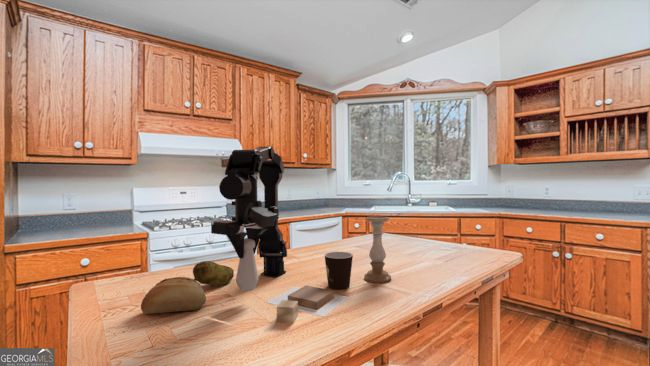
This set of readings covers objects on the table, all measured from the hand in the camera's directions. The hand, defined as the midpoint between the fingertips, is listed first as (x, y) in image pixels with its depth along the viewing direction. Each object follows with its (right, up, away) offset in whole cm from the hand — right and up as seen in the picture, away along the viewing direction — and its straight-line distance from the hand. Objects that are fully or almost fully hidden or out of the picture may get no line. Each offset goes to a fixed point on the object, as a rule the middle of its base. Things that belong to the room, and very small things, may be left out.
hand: (246, 256), depth 83 cm
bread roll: (-18, -13, -3) cm, 22 cm away
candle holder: (+38, -13, +21) cm, 45 cm away
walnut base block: (+17, -12, +2) cm, 21 cm away
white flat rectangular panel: (+16, -13, +2) cm, 21 cm away
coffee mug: (+25, -13, +14) cm, 32 cm away
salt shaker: (0, -9, 0) cm, 9 cm away
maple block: (+12, -13, -9) cm, 20 cm away
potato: (-14, -13, +16) cm, 25 cm away
